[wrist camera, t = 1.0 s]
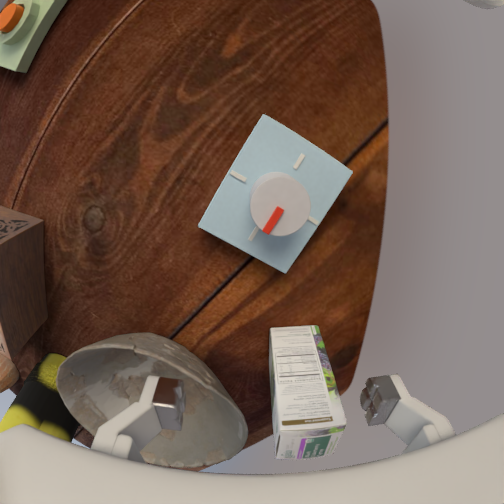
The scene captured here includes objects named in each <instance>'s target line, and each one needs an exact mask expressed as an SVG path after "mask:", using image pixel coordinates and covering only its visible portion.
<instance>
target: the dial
mask: <svg viewBox="0 0 504 504" xmlns="http://www.w3.org/2000/svg"><path fill="white" fill-rule="evenodd" d="M310 210H311V201H310V197H309V194H308V192H307V191H306V189H305V188H304V186H303V185H302V184H300V183H299V182H298V181H297V180H295V179H294V178H293V177H291V176H290V175H288V174H286V173H282V172H270V173H267V174H264V175H263V176H261V177H260V178H258V179H257V180H256V181H255V183H254V184H253V186H252V188H251V191H250V212H251V216H252V219H253V221H254V222H255V224H256V225H257V226H258V227H259V228H260V229H261V230H262V231H263V232H264V233H266V234H268V235H269V234H270V235H274V236H286V235H290V234H292V233H294V232H296V231H298V230H299V229H300V228H301V227H302V226H303V225H304V224H305V223H306V221H307V219H308V217H309V215H310Z"/></svg>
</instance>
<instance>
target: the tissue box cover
mask: <svg viewBox="0 0 504 504" xmlns="http://www.w3.org/2000/svg"><path fill="white" fill-rule="evenodd" d="M43 231H44V220H42V219H39V218H36V217H33V216H30V215H27V214H24V213H21V212H18V211H15V210H12V209H9V208H6V207H3V206H0V354H2V355H3V356H5V357H6V358H8V359H10V360H11V361H12V360H13V359H14V357H15V356H16V355H17V354H18V352H19V351H20V350H21V349H22V347H23V346H24V345H25V344H26V343H27V341H28V340H29V339H30V338H31V337H32V335H33V334H34V333H35V332H36V331H37V330H38V328H39V327H40V326H41V325H42V324H43V323H44V322H45V321H46V319H47V318H48V310H47V301H46V290H45V277H44V251H43Z"/></svg>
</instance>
